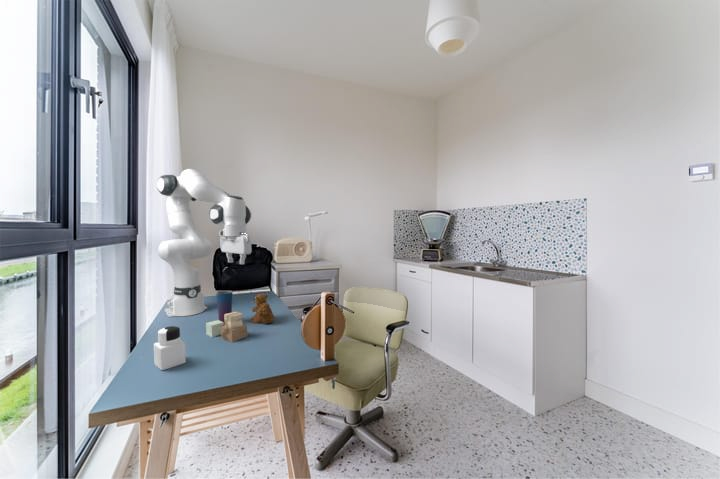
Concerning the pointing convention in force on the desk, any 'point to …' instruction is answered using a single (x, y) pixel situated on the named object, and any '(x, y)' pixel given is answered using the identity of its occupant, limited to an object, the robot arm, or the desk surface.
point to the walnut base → (234, 333)
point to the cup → (224, 304)
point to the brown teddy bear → (262, 310)
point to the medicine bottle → (169, 348)
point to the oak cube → (233, 320)
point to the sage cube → (214, 328)
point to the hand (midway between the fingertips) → (236, 263)
